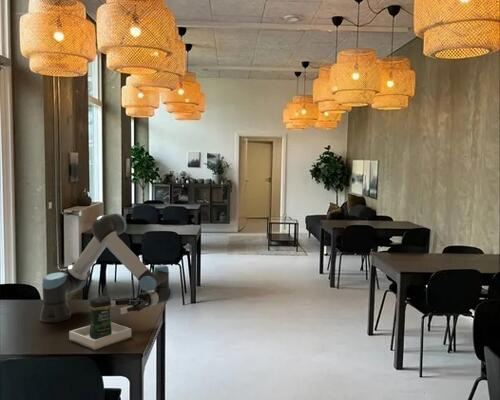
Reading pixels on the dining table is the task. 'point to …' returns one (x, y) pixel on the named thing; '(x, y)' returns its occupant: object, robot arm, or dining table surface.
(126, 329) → the tray
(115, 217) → the robot arm
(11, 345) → the dining table surface
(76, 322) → the dining table surface
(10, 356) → the dining table surface
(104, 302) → the coffee jar
